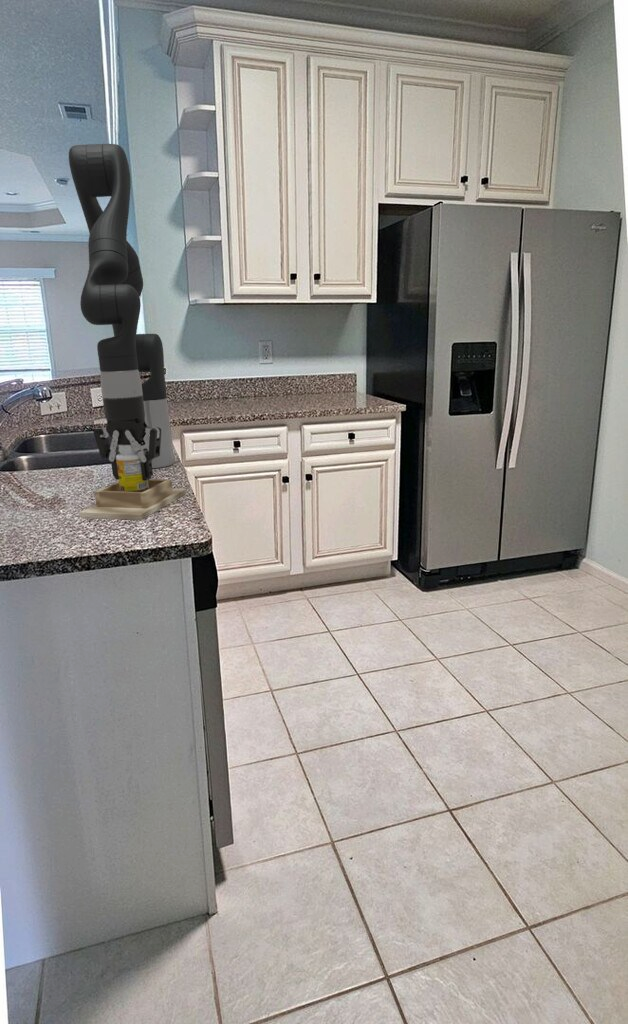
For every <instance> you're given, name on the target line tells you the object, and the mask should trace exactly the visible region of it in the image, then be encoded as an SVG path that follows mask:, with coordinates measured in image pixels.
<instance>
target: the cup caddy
mask: <svg viewBox="0 0 628 1024" xmlns="http://www.w3.org/2000/svg"><path fill="white" fill-rule="evenodd" d="M148 487H149V489H148V490H146V491H144V492H125V491H120V484H119V480H117V481H116V482H113V483H111V484H108V485H107V486H104V487H102V488H100V489H98V490H97V489H96V490H95V491H94V492H93V493H94V499H95V500H94V501H95V504H94V505H92V506H90V507H88V508H86V509H84V510H82V511H79V515H80V516H79V517H80V518H91V519H92V518H93V519H112V520H131V521H133V520H134V521H136V520H137V521H142V520H144V519H146V518H147V517H149V516H151V515H152V514H154V513H156V512H157V511H159V510H161V509H162V508H164V507H166V506H167V505H170V504H171V503H173V502H174V501H176V500H178V499H179V498H181V497H182V496H184V495H186V494H187V489H186V488H173V483H172V479H154V478H153V479H152V478H151V479H149V480H148Z"/></svg>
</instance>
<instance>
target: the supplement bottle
mask: <svg viewBox="0 0 628 1024" xmlns="http://www.w3.org/2000/svg"><path fill="white" fill-rule="evenodd" d="M118 446H119V452H120V453H119V454H117V455H116V463H117V470H118V477H119V480H118V481H119V484H120V491H125V492H144V491H146V490H148V489H149V487H148V480H143V478H142V470H141V462H142V461H141V459H140V457H139V455H138V453H136V452H135V451H134V449H133V447H132V445H118Z"/></svg>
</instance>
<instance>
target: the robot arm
mask: <svg viewBox="0 0 628 1024" xmlns="http://www.w3.org/2000/svg"><path fill="white" fill-rule="evenodd" d="M68 164H69V169H70V173H71V174H70V175H71V177H72V181H73V184H74V187H75V191H76V194H77V196H78V200H79V203H80V206H81V210H82V212H83V216H84V218H85V222H86V225H87V229H88V233H89V236H88V247H87V248H88V264H89V265H88V270H87V271H88V272H87V276H86V279H85V282H84V285H83V287H82V291H81V294H80V310H81V314H82V317H84V319H85V320H86V322H88V323H89V324H91V325H93V326H107V325H108V326H109V325H112V330H113V336H111V337H106V338H103V339H101V340H99V341H98V342H97V345H96V346H97V347H96V348H97V357H98V365H99V370H100V373H99V374H100V390H101V396H102V404H103V412H104V418H105V420H106V426H105V427H103V426H101V427H98V428H95V429H93V435H94V439H95V442H96V445H97V449H98V451H99V455H100V457H101V459H105V460H109V462H110V463H111V472H112V475H113V476H112V477H113V478H114V479H115V480H116V481H119V477H118V470H117V463H116V455H117V454H119V453H120V452H119V446H118V445H132V447H133V449H134V451H135V452H136V453H138V455H139V457H140V459H141V461H142V462H141V470H142V478H143V480H149V479H152V477H153V474H154V471H153V469H158V468H165V467H169V466H173V465H174V463H175V454H174V446H173V445H174V443H173V436H172V435H173V434H172V427H171V423H170V413H169V407H168V396H167V388H166V376H165V375H166V374H165V360H164V359H165V357H164V346H163V345H164V344H163V341H162V339H161V337H160V336H159V335H158V334H157V333H137V331H138V324H139V319H140V314H141V306H142V305H141V304H142V303H141V296H142V295H141V294H142V292H143V289H144V278H143V273H142V269H141V264H140V258H139V256H138V253H137V252H136V251H135V248H134V247H133V246H132V245H131V243H130V242H129V241H128V240H127V234H128V233H127V232H128V222H129V213H130V201H131V188H132V187H131V182H132V180H131V172H130V166H129V161H128V158H127V154H126V151H125V150H124V148H123V147H122V146H121V145H119V144H117V143H116V144H115V143H91V144H90V143H89V144H76V145H71V147H70V148H69V151H68ZM102 197H103V198H104V197H105V198H107V197H110V199H109V201H108V203H107V205H106V207H105V208H104V209H102V206H101V205H100V202H99V200H98V199H97V198H102ZM145 372H146V373H147V372H148V373H149V372H150V377H149V378H148V379H147V380H146V381H145V382H142V380H141V379H142V378H141V375H140V373H145ZM109 436H110V438H111V439H112V440H111V442H110V440H109Z"/></svg>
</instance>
